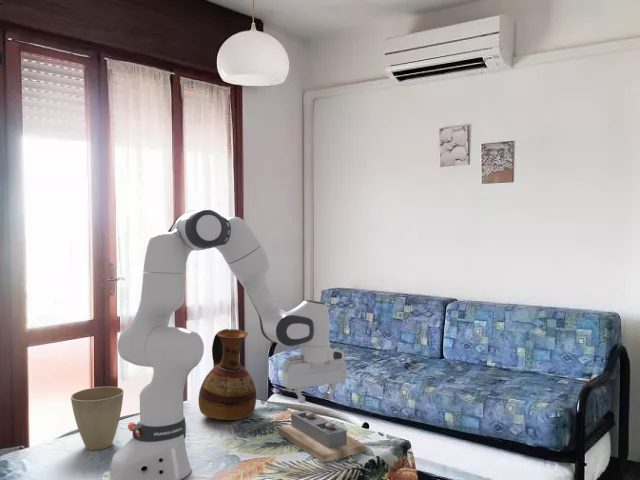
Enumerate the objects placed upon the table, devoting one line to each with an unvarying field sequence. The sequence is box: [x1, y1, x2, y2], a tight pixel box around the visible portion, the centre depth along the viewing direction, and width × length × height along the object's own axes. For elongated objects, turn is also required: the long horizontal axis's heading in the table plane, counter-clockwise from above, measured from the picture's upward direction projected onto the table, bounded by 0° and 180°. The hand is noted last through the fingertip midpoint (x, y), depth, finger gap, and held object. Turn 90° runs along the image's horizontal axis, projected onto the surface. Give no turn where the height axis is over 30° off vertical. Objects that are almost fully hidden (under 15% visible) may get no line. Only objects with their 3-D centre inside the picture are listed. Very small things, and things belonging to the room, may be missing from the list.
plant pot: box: [70, 386, 124, 451], centre depth 177 cm, size 15×15×16 cm
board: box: [277, 411, 367, 464], centre depth 176 cm, size 14×28×7 cm, turn 30°
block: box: [290, 409, 348, 449], centre depth 177 cm, size 6×23×4 cm, turn 30°
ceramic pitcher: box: [198, 328, 257, 421], centre depth 203 cm, size 20×20×30 cm
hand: (315, 400), depth 177 cm, fingers open, 8 cm apart
